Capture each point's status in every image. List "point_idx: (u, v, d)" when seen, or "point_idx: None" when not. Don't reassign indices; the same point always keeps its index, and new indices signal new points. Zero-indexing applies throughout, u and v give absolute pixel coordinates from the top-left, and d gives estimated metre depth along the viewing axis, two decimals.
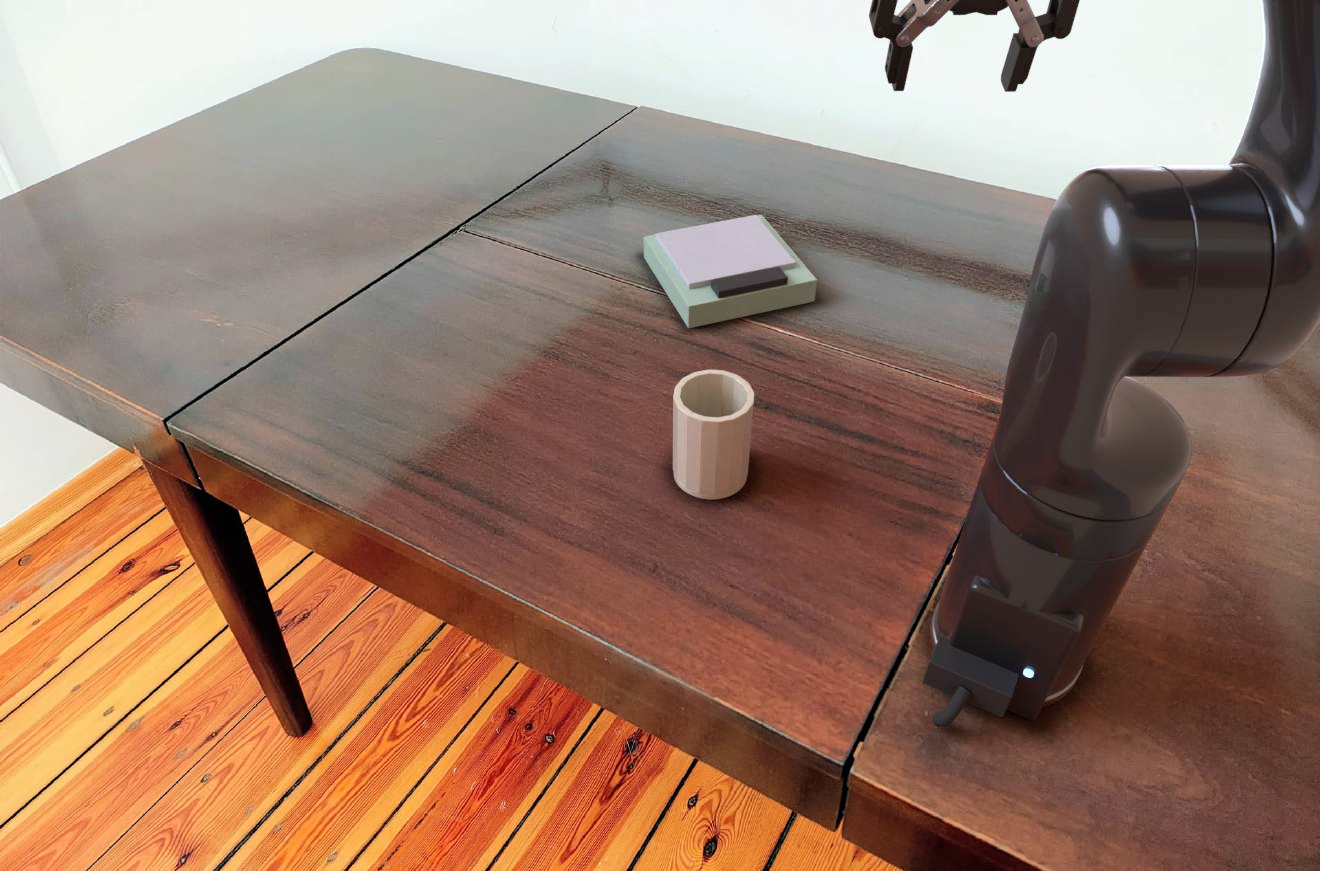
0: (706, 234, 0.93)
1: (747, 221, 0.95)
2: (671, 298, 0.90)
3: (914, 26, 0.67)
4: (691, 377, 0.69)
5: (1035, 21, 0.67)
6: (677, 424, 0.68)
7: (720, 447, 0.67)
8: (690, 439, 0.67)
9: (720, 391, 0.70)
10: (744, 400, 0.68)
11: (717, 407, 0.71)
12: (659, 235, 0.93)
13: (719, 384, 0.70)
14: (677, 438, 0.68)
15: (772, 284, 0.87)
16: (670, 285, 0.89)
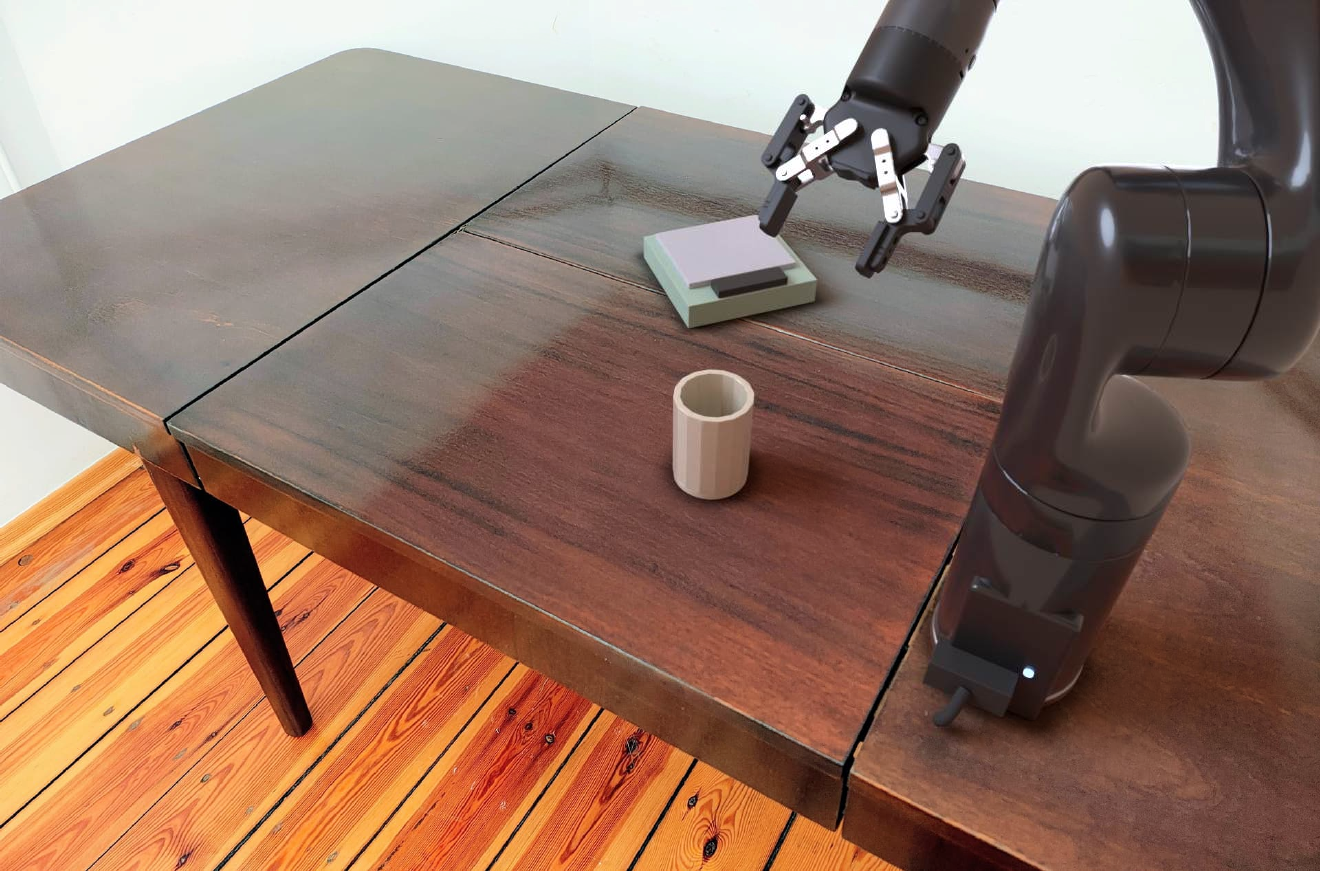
0: (706, 234, 0.93)
1: (747, 221, 0.95)
2: (671, 298, 0.90)
3: (795, 163, 0.70)
4: (691, 377, 0.69)
5: (898, 195, 0.65)
6: (677, 424, 0.68)
7: (720, 447, 0.67)
8: (690, 439, 0.67)
9: (720, 391, 0.70)
10: (744, 400, 0.68)
11: (717, 407, 0.71)
12: (659, 235, 0.93)
13: (719, 384, 0.70)
14: (677, 438, 0.68)
15: (772, 284, 0.87)
16: (670, 285, 0.89)
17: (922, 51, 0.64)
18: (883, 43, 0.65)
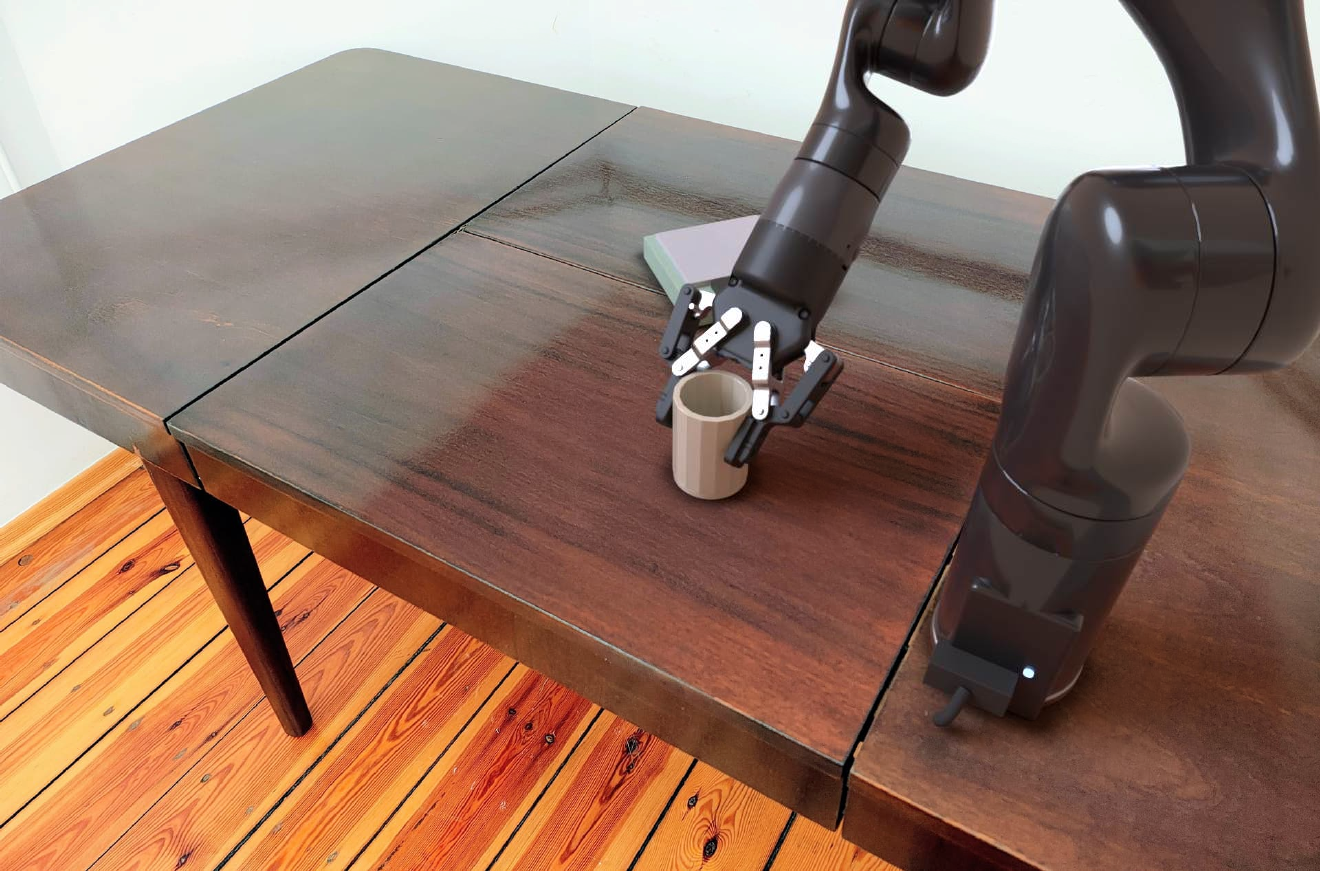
0: (706, 234, 0.93)
1: (747, 221, 0.95)
2: (671, 298, 0.90)
3: (688, 357, 0.69)
4: (691, 377, 0.69)
5: (768, 393, 0.66)
6: (677, 424, 0.68)
7: (720, 447, 0.67)
8: (690, 439, 0.67)
9: (720, 391, 0.70)
10: (744, 400, 0.68)
11: (717, 407, 0.71)
12: (659, 235, 0.93)
13: (719, 384, 0.70)
14: (677, 438, 0.68)
15: None
16: (670, 285, 0.89)
17: (802, 250, 0.64)
18: (765, 238, 0.65)
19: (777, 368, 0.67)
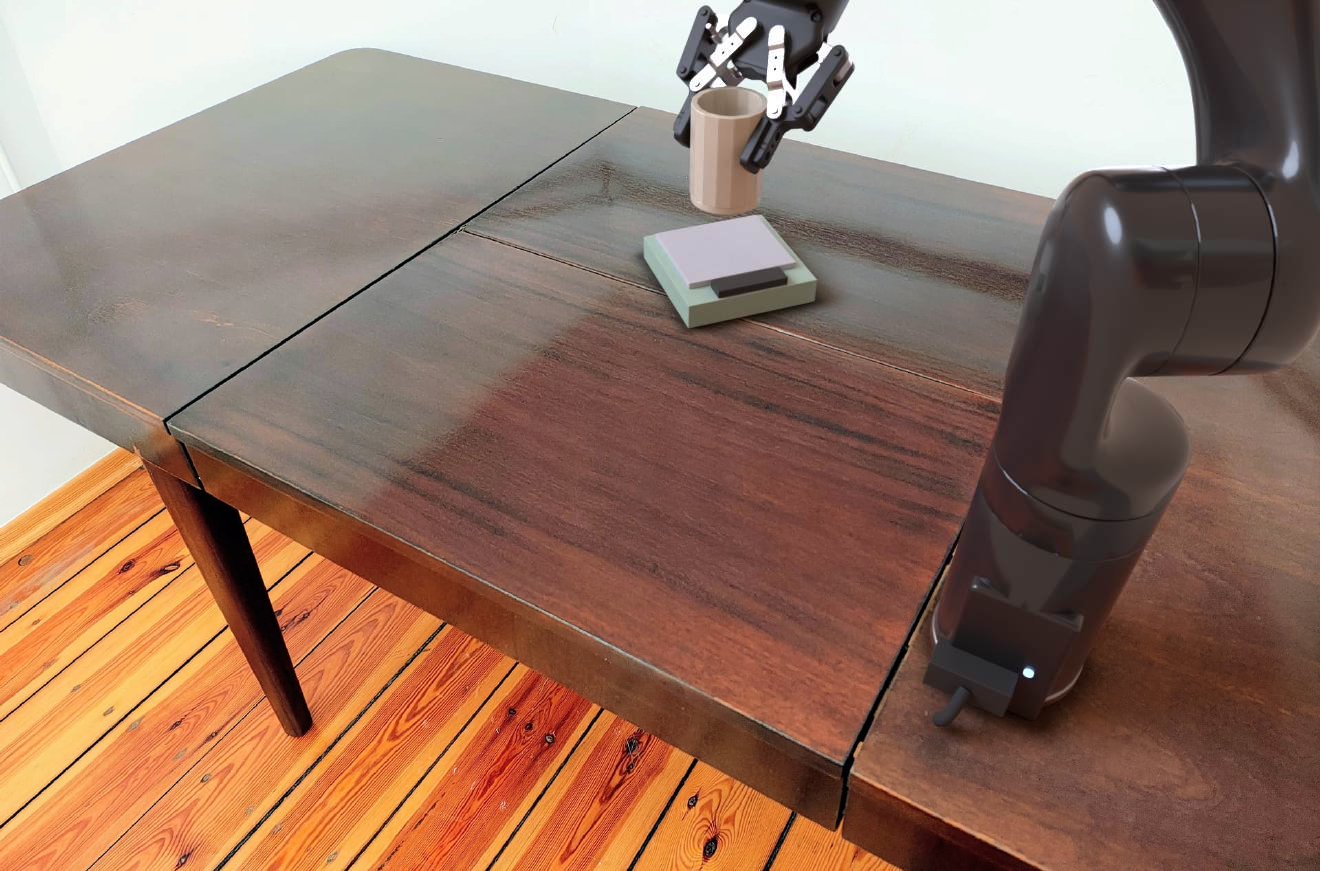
0: (706, 234, 0.93)
1: (747, 221, 0.95)
2: (671, 298, 0.90)
3: (705, 72, 0.72)
4: (708, 91, 0.72)
5: (782, 93, 0.69)
6: (694, 131, 0.71)
7: (736, 150, 0.70)
8: (707, 144, 0.70)
9: (735, 109, 0.73)
10: None
11: None
12: (659, 235, 0.93)
13: (734, 101, 0.73)
14: (694, 148, 0.72)
15: (772, 284, 0.87)
16: (670, 285, 0.89)
17: None
18: None
19: (790, 75, 0.70)
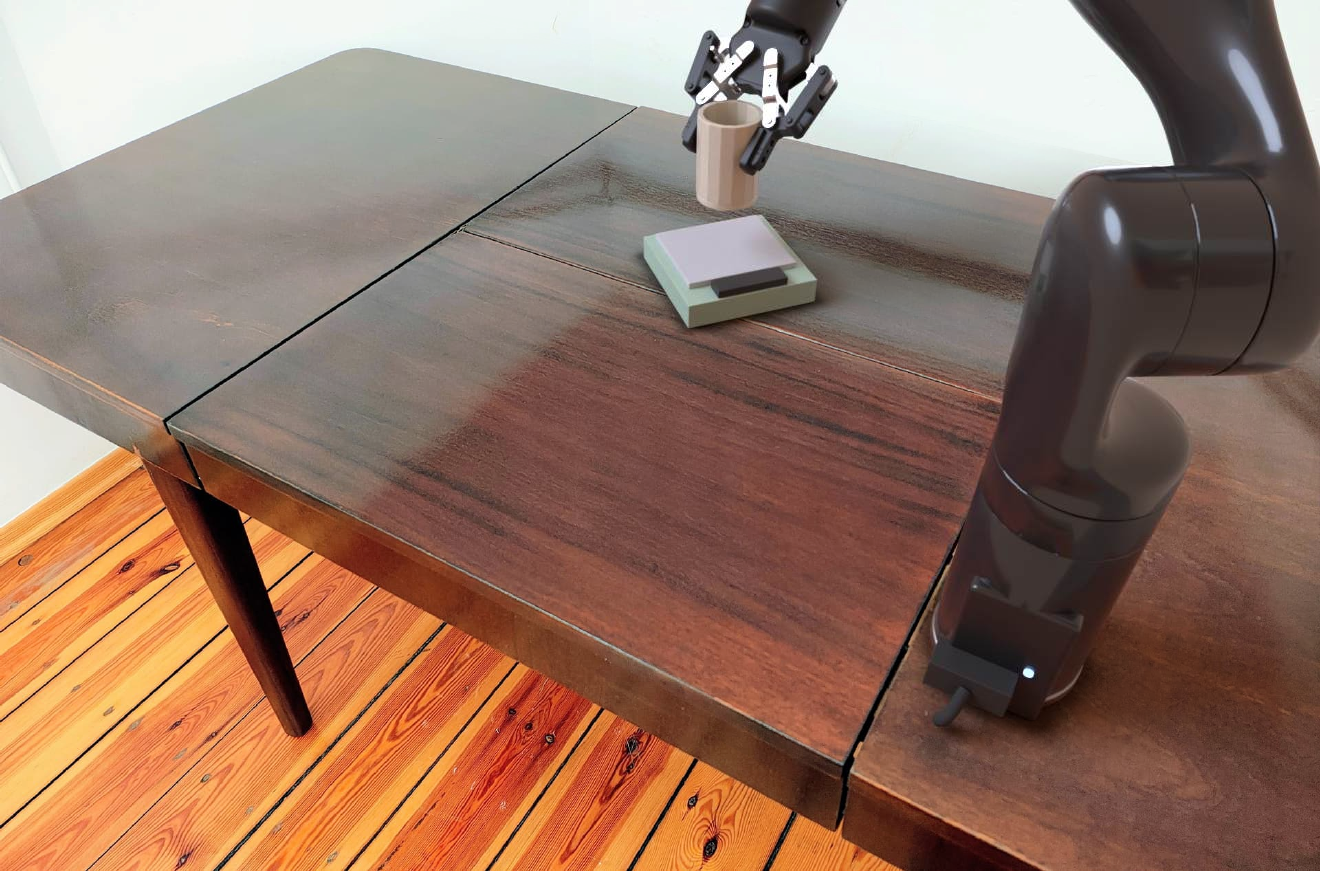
0: (706, 234, 0.93)
1: (747, 221, 0.95)
2: (671, 298, 0.90)
3: (710, 88, 0.84)
4: (712, 104, 0.83)
5: (775, 106, 0.80)
6: (700, 138, 0.82)
7: (736, 155, 0.82)
8: (711, 149, 0.82)
9: (735, 119, 0.85)
10: None
11: None
12: (659, 235, 0.93)
13: (734, 112, 0.84)
14: (700, 153, 0.83)
15: (772, 284, 0.87)
16: (670, 285, 0.89)
17: None
18: None
19: (783, 91, 0.82)
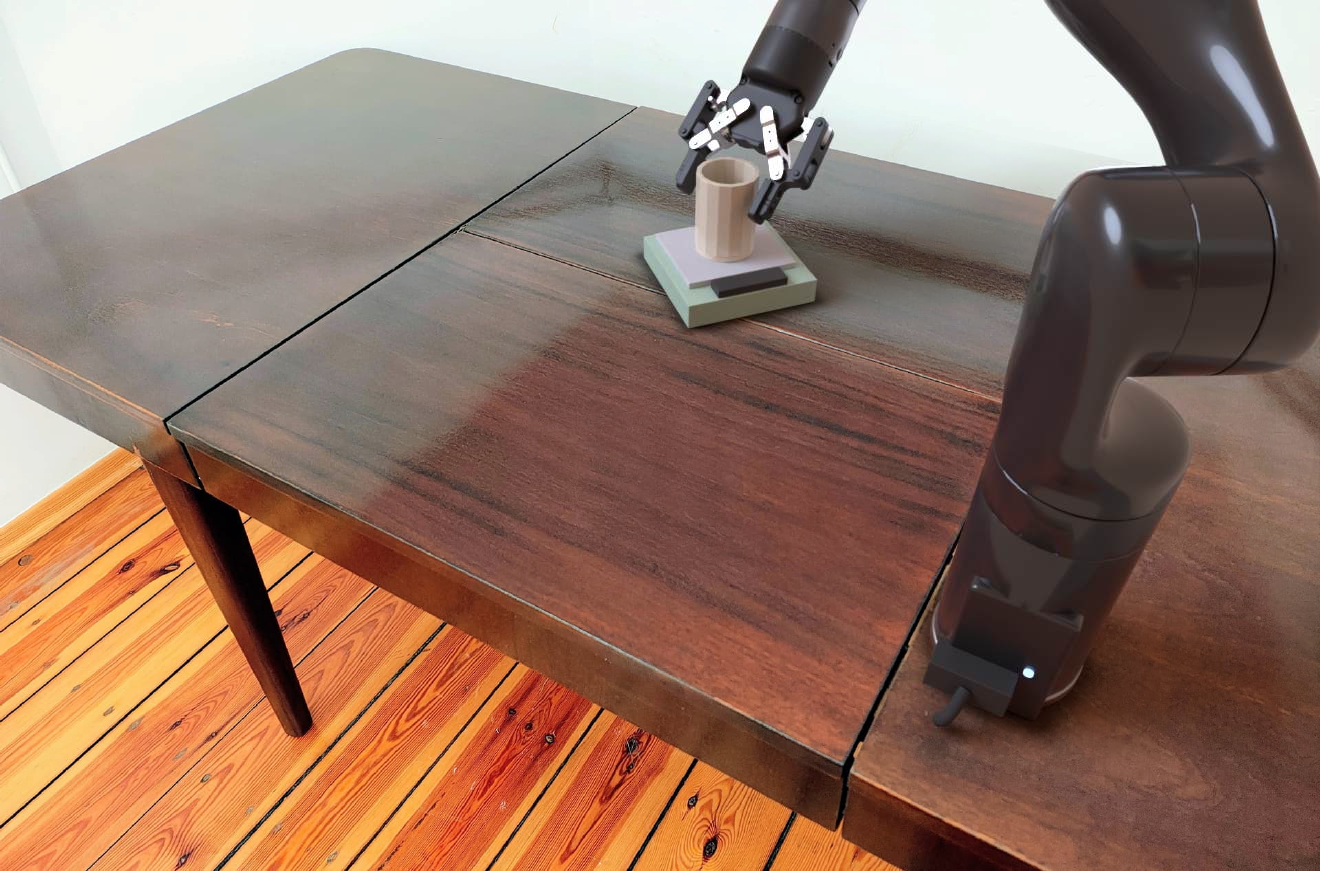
0: None
1: None
2: (671, 298, 0.90)
3: (703, 135, 0.88)
4: (710, 161, 0.87)
5: (780, 158, 0.83)
6: (699, 195, 0.86)
7: (733, 211, 0.85)
8: (709, 205, 0.86)
9: (732, 175, 0.89)
10: None
11: None
12: (659, 235, 0.93)
13: (732, 169, 0.88)
14: (699, 208, 0.87)
15: (772, 284, 0.87)
16: (670, 285, 0.89)
17: (797, 45, 0.82)
18: (768, 39, 0.83)
19: None
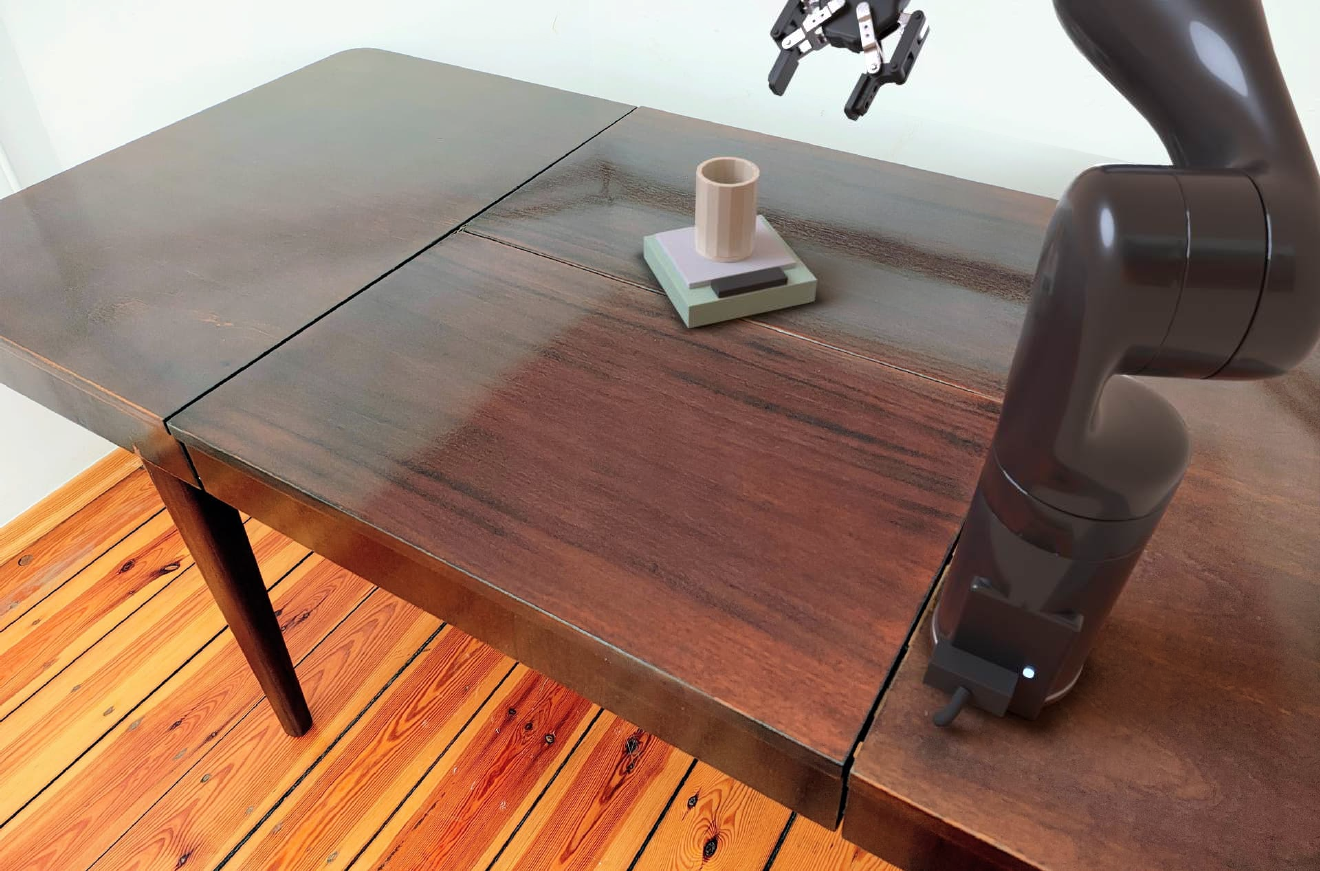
0: None
1: None
2: (671, 298, 0.90)
3: (796, 34, 0.89)
4: (710, 161, 0.87)
5: (877, 53, 0.84)
6: (699, 195, 0.86)
7: (733, 211, 0.85)
8: (709, 205, 0.86)
9: (732, 175, 0.89)
10: None
11: None
12: (659, 235, 0.93)
13: (732, 169, 0.88)
14: (699, 208, 0.87)
15: (772, 284, 0.87)
16: (670, 285, 0.89)
17: None
18: None
19: None
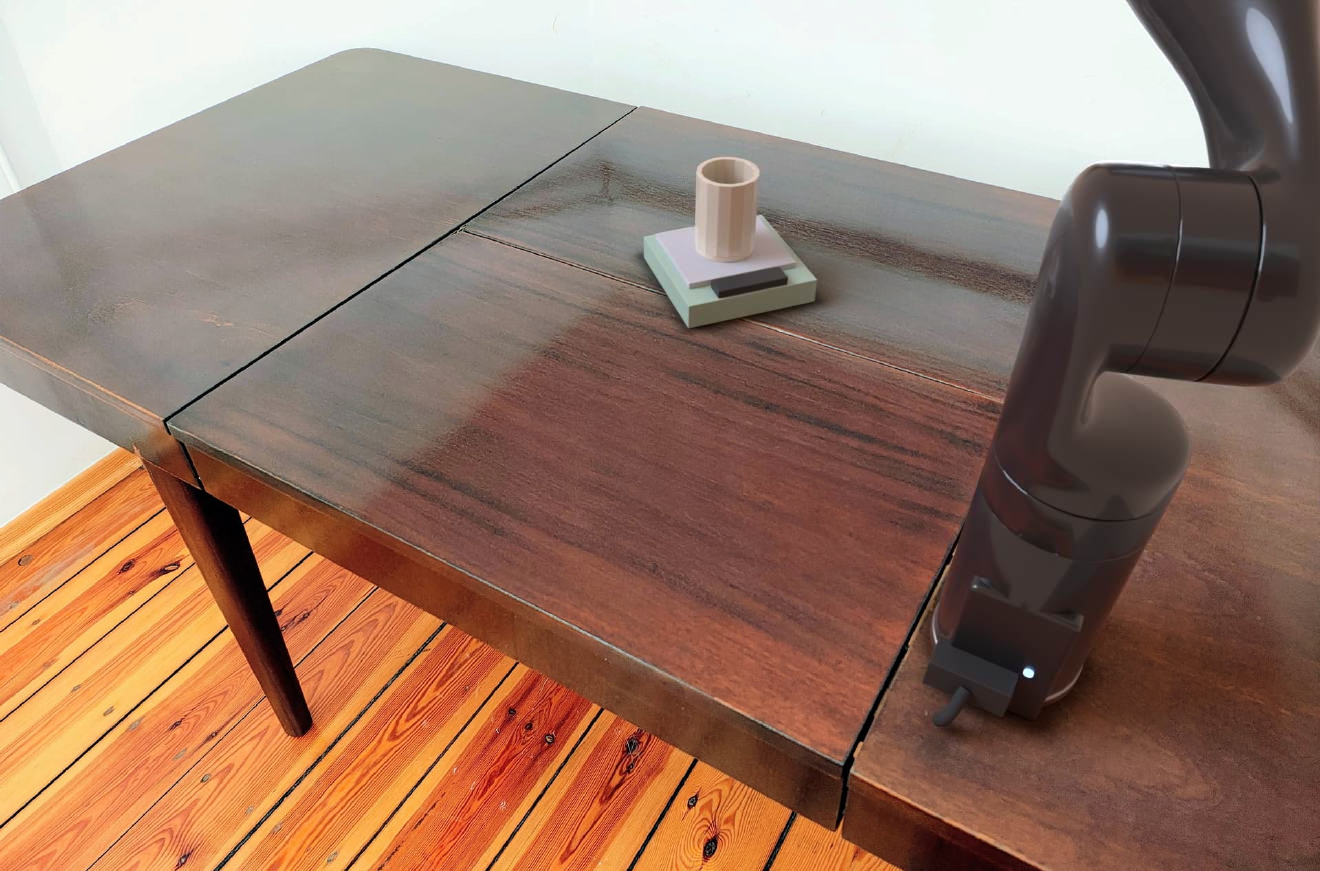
0: None
1: None
2: (671, 298, 0.90)
3: None
4: (710, 161, 0.87)
5: None
6: (699, 195, 0.86)
7: (733, 211, 0.85)
8: (709, 205, 0.86)
9: (732, 175, 0.89)
10: None
11: None
12: (659, 235, 0.93)
13: (732, 169, 0.88)
14: (699, 208, 0.87)
15: (772, 284, 0.87)
16: (670, 285, 0.89)
17: None
18: None
19: None
